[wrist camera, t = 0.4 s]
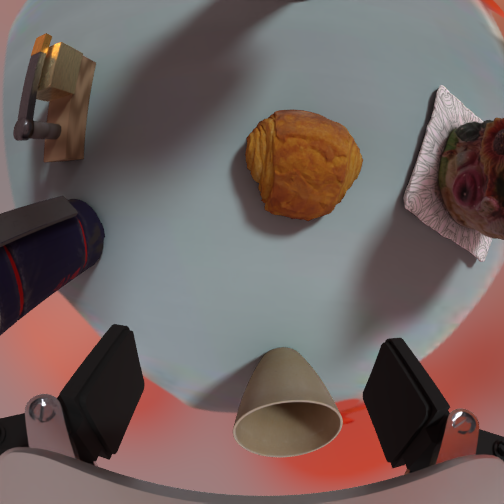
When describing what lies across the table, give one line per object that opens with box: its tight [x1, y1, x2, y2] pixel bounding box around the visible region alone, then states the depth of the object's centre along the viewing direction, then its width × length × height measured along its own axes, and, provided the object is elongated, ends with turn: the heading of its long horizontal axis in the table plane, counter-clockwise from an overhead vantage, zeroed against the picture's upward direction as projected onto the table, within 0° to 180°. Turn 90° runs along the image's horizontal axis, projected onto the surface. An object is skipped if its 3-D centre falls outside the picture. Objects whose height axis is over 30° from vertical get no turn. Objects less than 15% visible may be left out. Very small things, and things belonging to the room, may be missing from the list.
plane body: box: [30, 56, 96, 162], centre depth 27 cm, size 17×5×11 cm, turn 176°
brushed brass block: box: [36, 42, 83, 102], centre depth 24 cm, size 7×6×6 cm
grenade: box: [0, 196, 105, 335], centre depth 24 cm, size 14×12×30 cm
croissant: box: [245, 110, 363, 221], centre depth 33 cm, size 14×16×8 cm
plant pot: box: [233, 347, 343, 457], centre depth 38 cm, size 15×15×16 cm
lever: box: [14, 33, 52, 140], centre depth 20 cm, size 16×3×2 cm, turn 176°
